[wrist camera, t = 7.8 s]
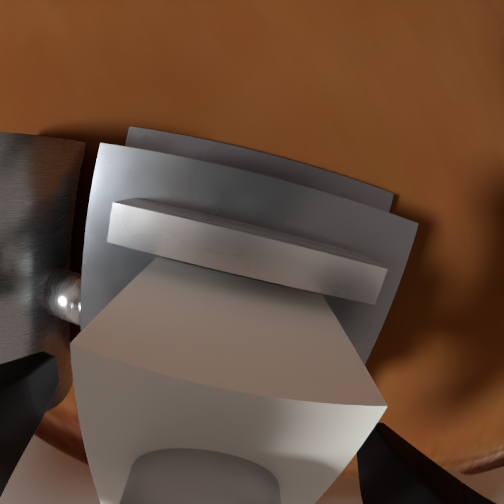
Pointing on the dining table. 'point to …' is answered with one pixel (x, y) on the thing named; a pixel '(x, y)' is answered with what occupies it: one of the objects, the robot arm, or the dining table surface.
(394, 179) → the dining table surface
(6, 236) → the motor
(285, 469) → the white knobbed block
